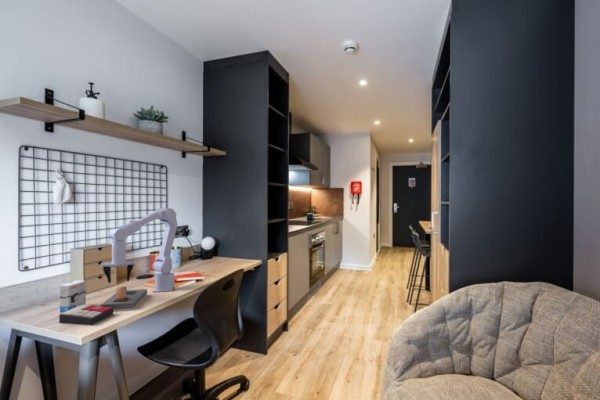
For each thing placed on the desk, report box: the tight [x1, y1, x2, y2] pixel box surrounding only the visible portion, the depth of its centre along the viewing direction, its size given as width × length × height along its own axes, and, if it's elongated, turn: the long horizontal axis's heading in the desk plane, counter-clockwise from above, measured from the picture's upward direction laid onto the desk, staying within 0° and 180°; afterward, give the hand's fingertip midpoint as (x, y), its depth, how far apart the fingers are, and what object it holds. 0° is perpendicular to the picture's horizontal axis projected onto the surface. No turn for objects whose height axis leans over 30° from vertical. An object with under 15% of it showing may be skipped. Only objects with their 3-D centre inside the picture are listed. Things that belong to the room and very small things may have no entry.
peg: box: [115, 286, 127, 302], centre depth 135 cm, size 4×4×8 cm
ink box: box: [59, 279, 87, 313], centre depth 132 cm, size 8×5×12 cm, turn 168°
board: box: [100, 288, 148, 312], centre depth 140 cm, size 13×20×3 cm, turn 12°
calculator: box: [58, 304, 114, 326], centre depth 122 cm, size 11×4×15 cm
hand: (118, 281), depth 143 cm, fingers open, 7 cm apart
